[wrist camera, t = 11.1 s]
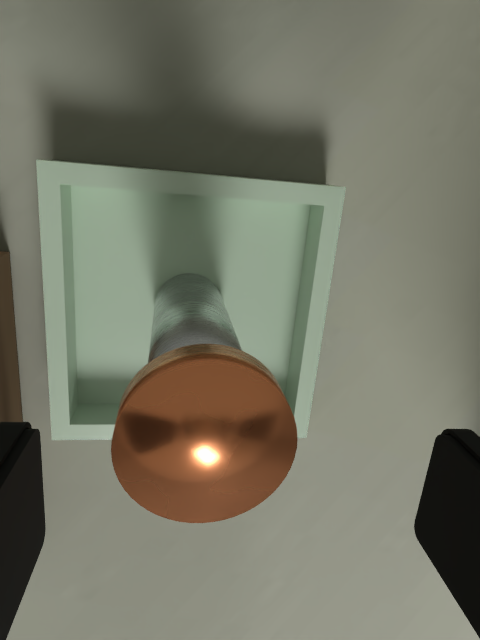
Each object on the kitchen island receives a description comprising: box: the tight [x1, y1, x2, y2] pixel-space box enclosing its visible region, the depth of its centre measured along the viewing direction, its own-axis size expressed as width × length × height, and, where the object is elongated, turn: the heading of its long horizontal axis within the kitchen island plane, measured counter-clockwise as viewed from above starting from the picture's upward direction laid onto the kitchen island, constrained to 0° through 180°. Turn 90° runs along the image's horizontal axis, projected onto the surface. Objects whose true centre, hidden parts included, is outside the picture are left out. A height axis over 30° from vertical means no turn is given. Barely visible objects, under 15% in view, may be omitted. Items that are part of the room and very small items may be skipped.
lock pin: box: [111, 273, 297, 523], centre depth 16 cm, size 4×4×11 cm
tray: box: [36, 160, 346, 440], centre depth 20 cm, size 12×12×2 cm
